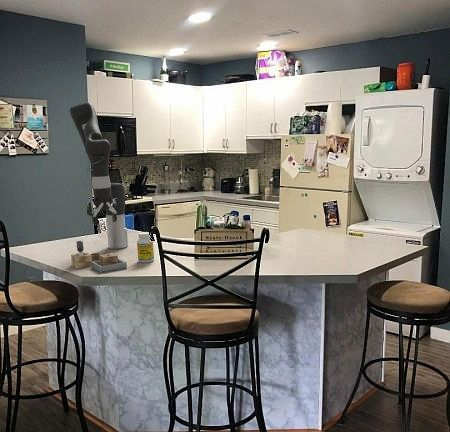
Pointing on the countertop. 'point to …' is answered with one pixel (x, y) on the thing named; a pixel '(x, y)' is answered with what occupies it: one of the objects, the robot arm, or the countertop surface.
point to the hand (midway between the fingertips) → (105, 223)
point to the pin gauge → (80, 247)
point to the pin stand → (95, 256)
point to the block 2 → (108, 259)
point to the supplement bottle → (145, 248)
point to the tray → (108, 266)
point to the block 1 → (81, 260)
